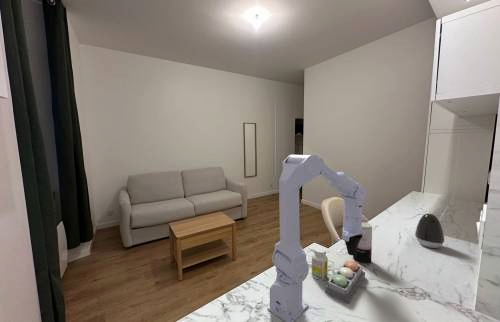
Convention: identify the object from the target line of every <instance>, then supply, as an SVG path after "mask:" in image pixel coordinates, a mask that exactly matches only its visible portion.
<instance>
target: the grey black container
mask: <svg viewBox="0 0 500 322" xmlns="http://www.w3.org/2000/svg"><path fill="white" fill-rule="evenodd" d="M362 230H364V231H366V233H365V234H362V235H363V237H362V238H361V240H360V242H359V244H358V248H357V252H356V255H355V256H352V258H353V261H354V262H356V261H357V262H356V263H358V262H359V263H358V264H360V263H361V265H370V264H371V263H372V256H373V255H372V251H373V247H372V245H373V226H372V224H370V223H368V222H365V221H362Z"/></svg>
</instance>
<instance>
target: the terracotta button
mask: <svg viewBox="0 0 500 322" xmlns="http://www.w3.org/2000/svg"><path fill="white" fill-rule="evenodd" d="M344 263H345V267H346V268H349V269H351V270H352V271H353V272H356V271H358V266H359V263H358V262H356V261H354V260H347V261H346V260H345V262H344Z"/></svg>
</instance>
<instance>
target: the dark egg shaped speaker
mask: <svg viewBox="0 0 500 322" xmlns="http://www.w3.org/2000/svg"><path fill="white" fill-rule="evenodd" d="M444 234H445V233H444V229H443V225H442V223H441V222H440V220H439V218H438V217H437V216H436V215H435V214H432V213H424V214H423V215H422V216H421V217H420V218H419V221H418V223H417V226H416V228H415V234H414V235H415V238H416V240H417V242H418V243H419V244H420V245H421V246H423V247H426V248H429V249H437V248H441V247H442V245H444V242H445V235H444Z"/></svg>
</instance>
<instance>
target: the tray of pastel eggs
mask: <svg viewBox="0 0 500 322" xmlns="http://www.w3.org/2000/svg"><path fill="white" fill-rule="evenodd" d="M341 267H345V262H343V264H342V265H341V266H340V267H339V268H338V270H337V271H336V272H335V273H334V274H333V275H332V276H331V278H330V279H328V281H327V284H326V285H324V293H325V294H326V295H327V294H328V295H329V296H331V297H333V298H335V299H338V300H339V301H341V302H343V303H345V304H347V305H349V303H350V302H351V301H352V299H353V297H354V296H355V294H356V293H357V291H358V290H359V288H360V286H361V285H362V283H363V282H364V280H365V278H366V272H365V271H364V270H363V269H364V267H363V266H361V265H358V271H356V272H353V278H352V279H347V286H346V287H340V286H337V285H335V284H334V283H333V276H334V275H335V274H340V268H341Z"/></svg>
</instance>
